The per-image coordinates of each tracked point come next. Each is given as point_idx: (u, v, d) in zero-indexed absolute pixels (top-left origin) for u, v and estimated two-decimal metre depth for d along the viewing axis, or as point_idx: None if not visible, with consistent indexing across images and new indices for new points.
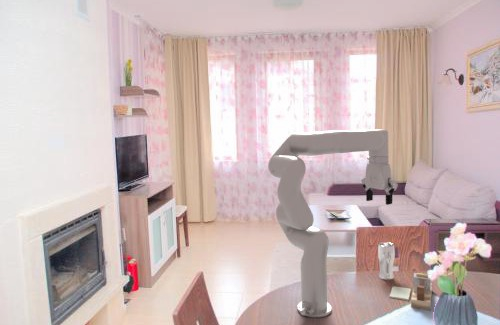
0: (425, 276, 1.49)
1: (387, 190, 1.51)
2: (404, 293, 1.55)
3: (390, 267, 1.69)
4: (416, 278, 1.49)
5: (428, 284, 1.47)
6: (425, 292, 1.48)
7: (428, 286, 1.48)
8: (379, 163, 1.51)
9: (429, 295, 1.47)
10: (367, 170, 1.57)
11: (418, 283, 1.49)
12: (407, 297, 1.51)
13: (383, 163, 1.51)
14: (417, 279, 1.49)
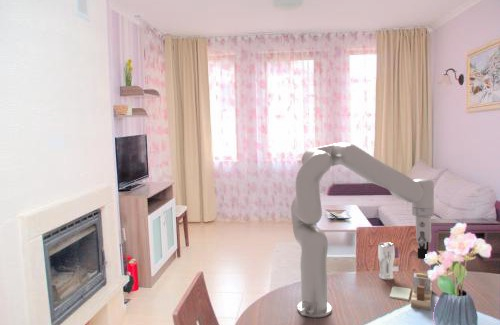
0: (425, 276, 1.49)
1: None
2: (404, 293, 1.55)
3: (390, 267, 1.69)
4: (416, 278, 1.49)
5: (428, 284, 1.47)
6: (425, 292, 1.48)
7: (428, 286, 1.48)
8: None
9: (429, 295, 1.47)
10: (430, 224, 1.44)
11: (418, 283, 1.49)
12: (407, 297, 1.51)
13: None
14: (417, 279, 1.49)
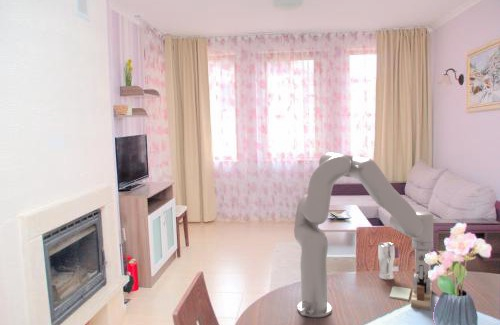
0: None
1: None
2: (404, 293, 1.55)
3: (390, 267, 1.69)
4: (416, 278, 1.49)
5: (428, 284, 1.47)
6: None
7: (428, 286, 1.48)
8: None
9: (429, 295, 1.47)
10: None
11: None
12: (407, 297, 1.51)
13: None
14: (417, 279, 1.49)
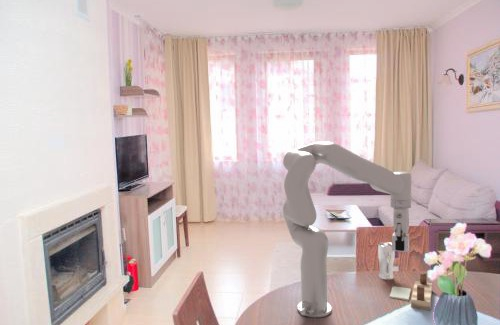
0: None
1: None
2: (404, 293, 1.55)
3: (390, 267, 1.69)
4: (394, 237, 1.52)
5: (406, 242, 1.50)
6: None
7: (406, 244, 1.50)
8: None
9: (429, 295, 1.47)
10: (407, 216, 1.48)
11: None
12: (407, 297, 1.51)
13: None
14: None
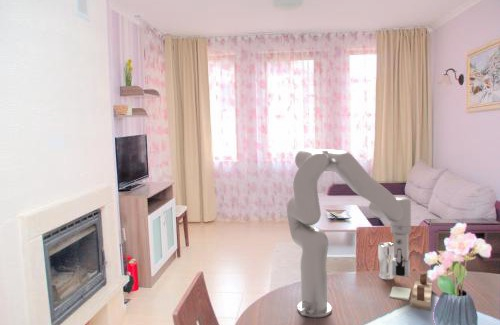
0: None
1: None
2: (404, 293, 1.55)
3: (390, 267, 1.69)
4: (395, 262, 1.53)
5: (406, 267, 1.51)
6: (404, 275, 1.52)
7: (406, 269, 1.52)
8: None
9: (429, 295, 1.47)
10: (407, 241, 1.49)
11: None
12: (407, 297, 1.51)
13: None
14: None
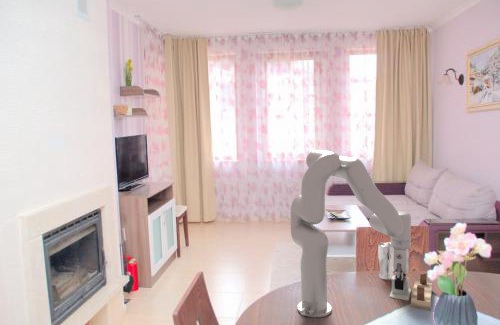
0: (403, 278, 1.54)
1: None
2: None
3: (390, 267, 1.69)
4: (394, 280, 1.54)
5: (406, 286, 1.52)
6: (403, 293, 1.53)
7: (406, 288, 1.52)
8: None
9: (429, 295, 1.47)
10: (406, 256, 1.50)
11: None
12: (407, 297, 1.51)
13: None
14: None
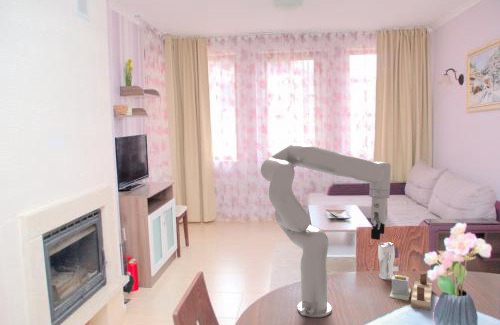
0: (403, 278, 1.54)
1: None
2: None
3: (390, 267, 1.69)
4: (394, 280, 1.54)
5: (406, 286, 1.52)
6: (403, 293, 1.53)
7: (406, 288, 1.52)
8: None
9: (429, 295, 1.47)
10: (384, 205, 1.48)
11: (396, 284, 1.54)
12: (407, 297, 1.51)
13: None
14: (395, 281, 1.54)
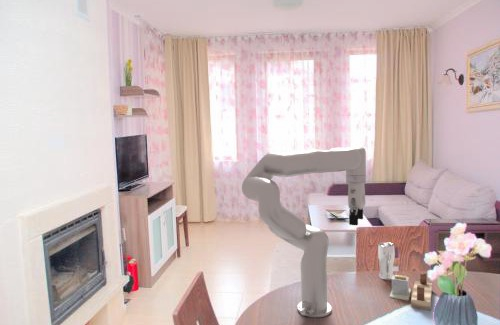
0: (403, 278, 1.54)
1: None
2: None
3: (390, 267, 1.69)
4: (394, 280, 1.54)
5: (406, 286, 1.52)
6: (403, 293, 1.53)
7: (406, 288, 1.52)
8: None
9: (429, 295, 1.47)
10: (361, 191, 1.47)
11: (396, 284, 1.54)
12: (407, 297, 1.51)
13: None
14: (395, 281, 1.54)
